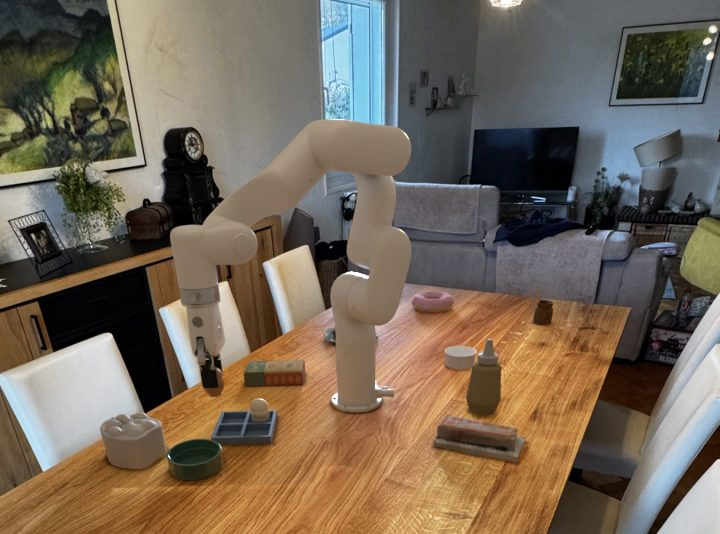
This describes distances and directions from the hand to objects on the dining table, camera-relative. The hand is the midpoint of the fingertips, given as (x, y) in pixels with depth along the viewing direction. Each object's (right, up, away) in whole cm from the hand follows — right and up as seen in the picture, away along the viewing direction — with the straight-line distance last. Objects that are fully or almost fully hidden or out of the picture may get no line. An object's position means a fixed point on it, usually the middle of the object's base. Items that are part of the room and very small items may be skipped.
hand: (213, 381), depth 120 cm
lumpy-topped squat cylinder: (-18, -16, +5) cm, 24 cm away
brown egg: (0, -3, +2) cm, 3 cm away
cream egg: (+8, -8, +16) cm, 19 cm away
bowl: (-3, -18, 0) cm, 18 cm away
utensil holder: (+95, +30, +74) cm, 124 cm away
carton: (+9, +6, +39) cm, 40 cm away
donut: (+61, +40, +91) cm, 117 cm away
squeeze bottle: (+61, -5, +18) cm, 64 cm away
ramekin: (+61, +11, +44) cm, 76 cm away
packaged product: (+57, -13, +4) cm, 58 cm away
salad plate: (+30, +23, +66) cm, 76 cm away
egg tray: (+5, -10, +13) cm, 17 cm away
